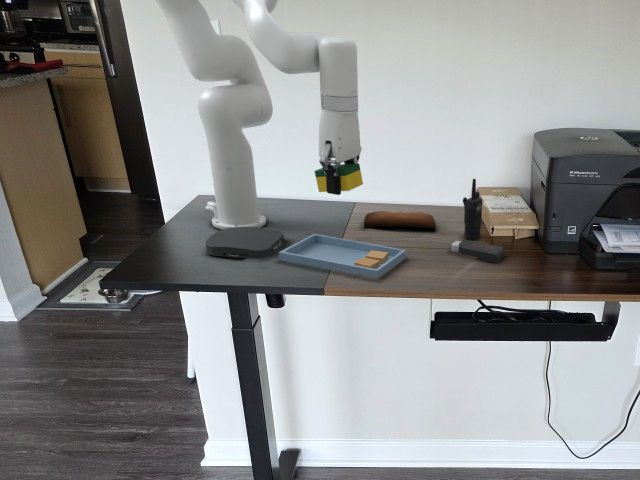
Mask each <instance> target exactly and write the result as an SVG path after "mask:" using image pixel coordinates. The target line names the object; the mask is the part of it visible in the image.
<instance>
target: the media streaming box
mask: <svg viewBox="0 0 640 480" xmlns="http://www.w3.org/2000/svg"><path fill="white" fill-rule="evenodd" d="M284 244H285V234H284V233H283V232H281V231H279V230H277V229H274V228H268V227H263V226H262V227H234V228H227V229H219V230H217V231H215V232H214V233H213V234H211V235H210V236H209V237H208V238H207V239H206V240H205V248H206V253H207V254H208V255H211V256H215V257H225V258H233V259H264V258H268V257H271V256H272V255H273V254H275V253H276V252H277V251H278V250H279V249H280V248H282V246H283V245H284Z"/></svg>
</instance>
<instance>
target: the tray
mask: <svg viewBox="0 0 640 480" xmlns="http://www.w3.org/2000/svg"><path fill="white" fill-rule="evenodd" d="M371 250H373V251H381V252H388V259H387V260H386V261H385V262H384V263H383V264H380V267H379V268H377V269H372V268H367V267H362V266H357V265H354V262H356V261H358V260H360V259H362V258H364V257H365V256H366V255H367V254H368V253H369V252H370V251H371ZM278 255H279V261H282V262H287V263H292V264H297V265H303V266H308V267H314V268H318V269H324V270H328V271H334V272H338V273H339V272H340V273H345V274H350V275H355V276H361V277H366V278H371V279H375V280H378V279H379V278H382V277H383V276H384V275H385V274H386V273H388V272H389V271H391V270H392V269H394V268H395V267H396V266H397V265H399V264H400V263H401V262H403V261H404V260H405V259H407V249H402V248H396V247H391V246H386V245H380V244H374V243H369V242H363V241H357V240H352V239H347V238H340V237H336V236H329V235H325V234H320V233H319V234H318V233H313V234H311V235H309V236H306V237H305V238H303V239H302V240H299V241H298V242H296V243H294V244H292V245H290V246H287V247H286V248H284V249H283V250H282V249H281V250H280V251H279V252H278Z"/></svg>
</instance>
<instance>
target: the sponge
mask: <svg viewBox="0 0 640 480" xmlns="http://www.w3.org/2000/svg"><path fill="white" fill-rule="evenodd" d="M331 165H332V166H333V168H335V164H331ZM314 176H315V179H316V185H317V190H318V192H319V193H327V187H326V175H325V173H324V170H323V167H321V168H319V169H316V170H314ZM338 176H340V177H341V192H350V191H351V190H354V189H356V188H358V187H361V186H362V185H364V182H363V175H362V171H361V166H360V163H358V164H344V163H343V164H342V163H341V164H340V169H339V175H338Z"/></svg>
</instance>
